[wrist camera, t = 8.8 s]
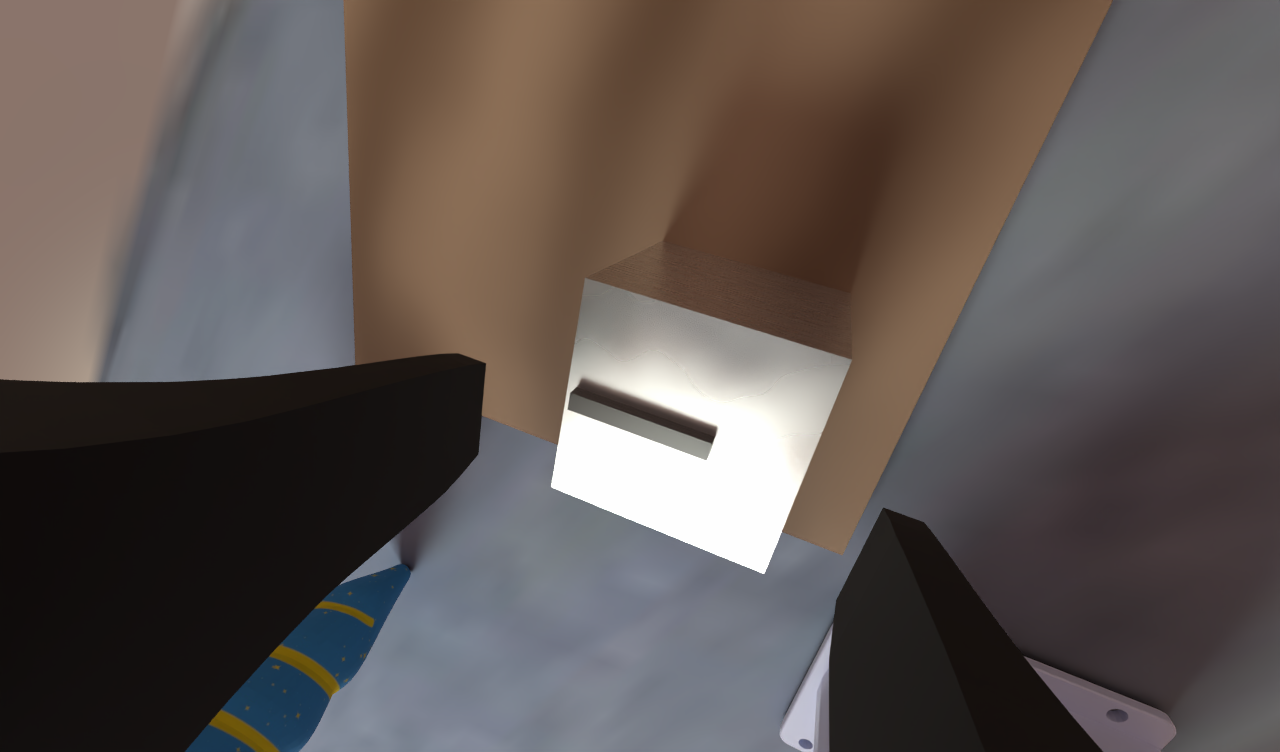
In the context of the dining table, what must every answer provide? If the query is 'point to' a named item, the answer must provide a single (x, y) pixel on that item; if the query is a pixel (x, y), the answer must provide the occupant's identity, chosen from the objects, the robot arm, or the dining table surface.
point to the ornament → (305, 670)
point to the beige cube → (700, 395)
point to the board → (693, 178)
